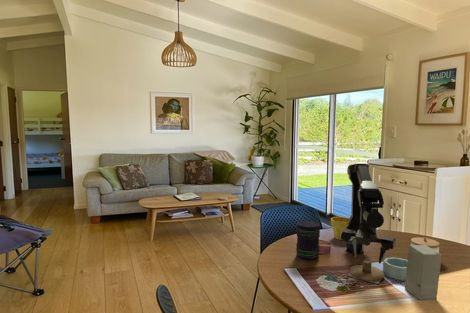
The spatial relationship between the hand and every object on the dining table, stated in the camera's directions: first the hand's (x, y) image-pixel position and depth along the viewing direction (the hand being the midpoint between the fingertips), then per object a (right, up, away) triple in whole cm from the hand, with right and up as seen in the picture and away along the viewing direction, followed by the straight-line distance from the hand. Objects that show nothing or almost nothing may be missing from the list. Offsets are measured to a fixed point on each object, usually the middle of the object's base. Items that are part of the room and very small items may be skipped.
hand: (367, 260), depth 126 cm
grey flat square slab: (0, -6, 0) cm, 6 cm away
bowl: (+12, -6, +1) cm, 14 cm away
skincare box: (+13, -7, -14) cm, 20 cm away
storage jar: (-19, -4, +18) cm, 26 cm away
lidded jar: (+31, -5, +16) cm, 35 cm away
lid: (0, -5, 0) cm, 5 cm away
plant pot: (+4, -2, +43) cm, 44 cm away
